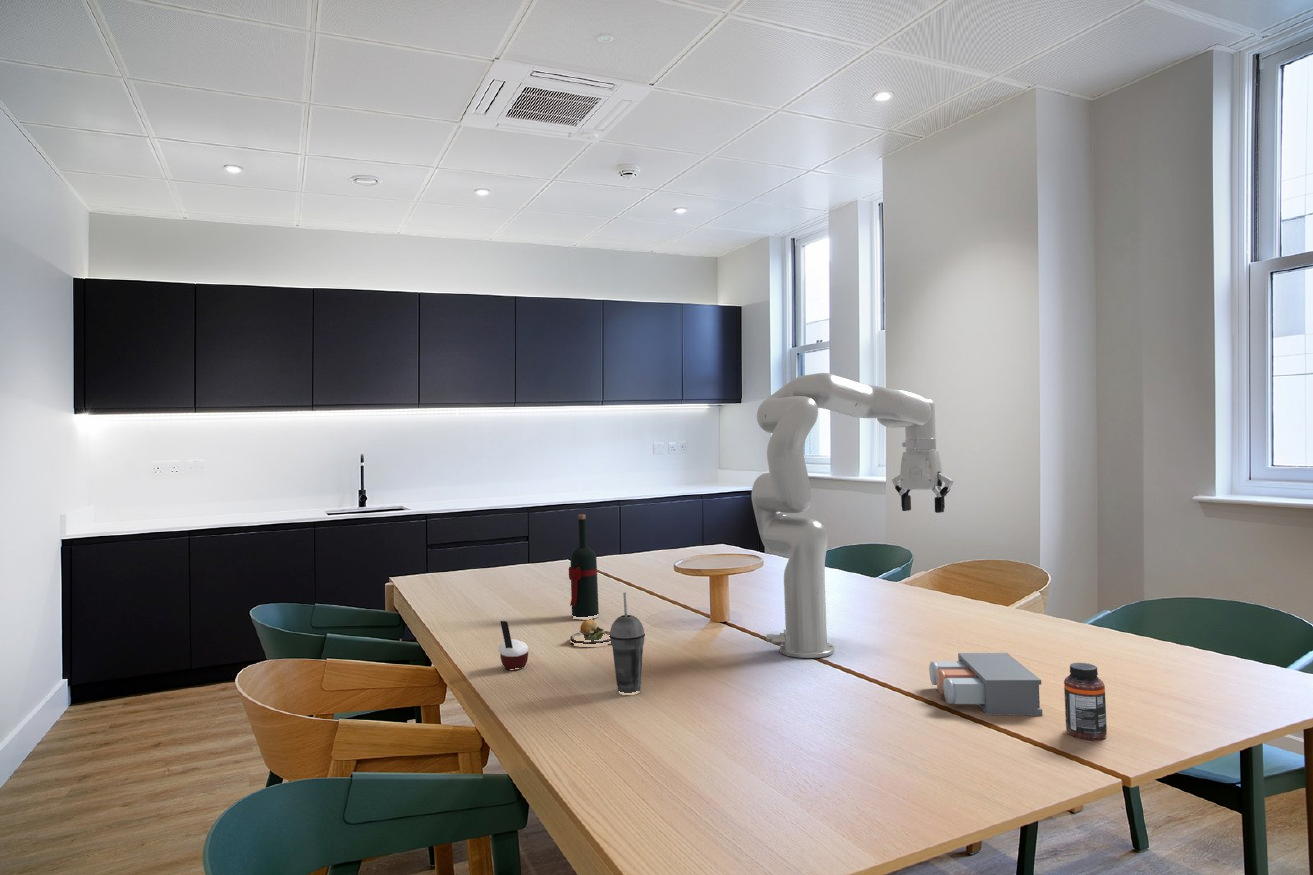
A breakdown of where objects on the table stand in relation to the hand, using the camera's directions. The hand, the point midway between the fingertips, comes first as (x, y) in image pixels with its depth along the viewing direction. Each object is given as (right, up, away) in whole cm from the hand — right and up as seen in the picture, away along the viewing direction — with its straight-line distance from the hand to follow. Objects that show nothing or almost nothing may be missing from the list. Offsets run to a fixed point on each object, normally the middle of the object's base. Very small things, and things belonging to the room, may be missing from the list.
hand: (922, 511), depth 208 cm
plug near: (-12, -29, -63) cm, 71 cm away
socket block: (-6, -30, -58) cm, 66 cm away
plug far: (-11, -29, -52) cm, 61 cm away
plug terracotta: (-12, -29, -58) cm, 66 cm away
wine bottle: (-91, -33, +23) cm, 100 cm away
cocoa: (-102, -34, -27) cm, 111 cm away
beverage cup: (-75, -32, -47) cm, 95 cm away
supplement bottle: (+1, -30, -77) cm, 83 cm away
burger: (-86, -33, -5) cm, 92 cm away
